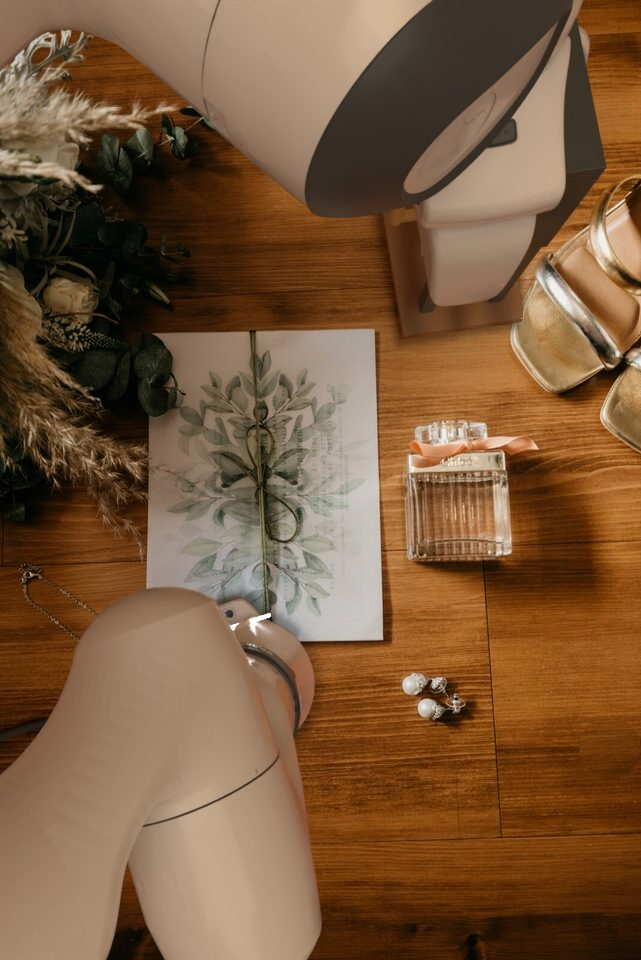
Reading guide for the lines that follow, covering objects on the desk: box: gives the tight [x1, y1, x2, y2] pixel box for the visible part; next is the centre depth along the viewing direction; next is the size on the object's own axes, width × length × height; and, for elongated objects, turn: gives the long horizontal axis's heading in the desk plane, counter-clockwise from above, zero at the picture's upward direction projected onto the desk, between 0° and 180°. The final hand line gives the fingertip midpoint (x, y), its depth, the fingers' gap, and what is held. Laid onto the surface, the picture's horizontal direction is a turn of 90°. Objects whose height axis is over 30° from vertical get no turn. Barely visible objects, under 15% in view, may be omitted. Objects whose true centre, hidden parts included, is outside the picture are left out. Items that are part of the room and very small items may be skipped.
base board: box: [380, 204, 524, 340], centre depth 83 cm, size 14×20×2 cm
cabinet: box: [418, 16, 607, 314], centre depth 68 cm, size 10×16×30 cm, turn 9°
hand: (421, 182), depth 46 cm, fingers open, 7 cm apart
